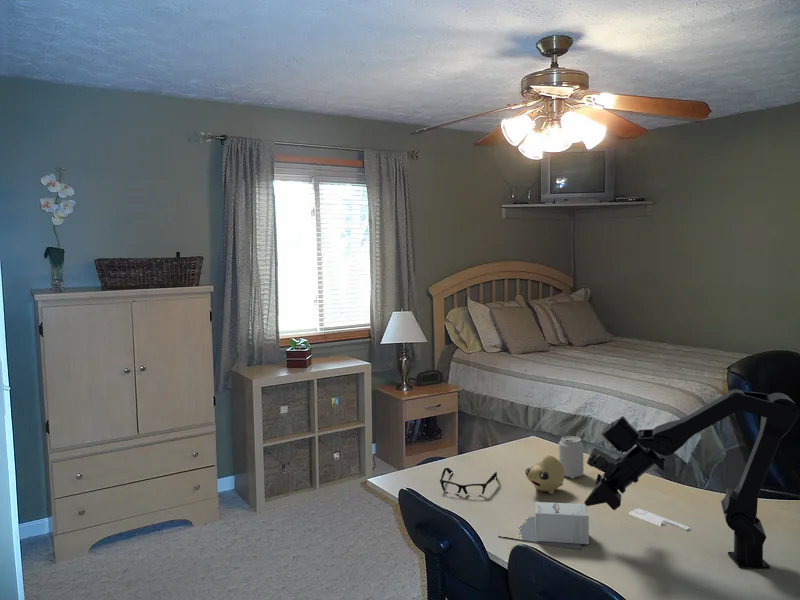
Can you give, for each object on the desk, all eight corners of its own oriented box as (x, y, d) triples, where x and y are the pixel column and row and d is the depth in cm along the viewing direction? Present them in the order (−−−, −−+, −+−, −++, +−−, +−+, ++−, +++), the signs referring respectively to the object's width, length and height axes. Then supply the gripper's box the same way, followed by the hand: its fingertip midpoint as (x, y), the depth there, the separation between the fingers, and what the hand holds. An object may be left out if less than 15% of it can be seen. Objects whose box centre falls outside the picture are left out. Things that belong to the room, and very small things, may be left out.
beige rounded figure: (519, 492, 180) (519, 457, 179) (543, 481, 188) (543, 448, 187) (547, 501, 172) (546, 465, 172) (571, 490, 180) (570, 455, 179)
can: (554, 473, 195) (554, 437, 194) (572, 469, 198) (572, 433, 197) (570, 480, 188) (569, 443, 187) (588, 476, 191) (588, 439, 190)
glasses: (435, 497, 181) (434, 481, 181) (449, 474, 198) (448, 459, 197) (489, 502, 176) (489, 486, 176) (499, 478, 193) (499, 463, 192)
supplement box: (588, 515, 145) (535, 513, 147) (589, 545, 145) (536, 542, 148) (585, 503, 152) (534, 500, 154) (586, 531, 152) (535, 528, 155)
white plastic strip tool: (678, 536, 150) (678, 532, 150) (627, 515, 162) (627, 512, 162) (690, 530, 153) (690, 526, 153) (638, 511, 165) (638, 507, 165)
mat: (586, 525, 157) (586, 524, 156) (580, 549, 144) (580, 548, 144) (510, 514, 164) (510, 513, 164) (498, 537, 152) (498, 535, 152)
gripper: (610, 429, 155) (567, 467, 160) (604, 452, 137) (556, 492, 143) (643, 462, 152) (598, 499, 157) (641, 489, 135) (591, 529, 140)
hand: (585, 504), depth 149 cm, fingers closed
